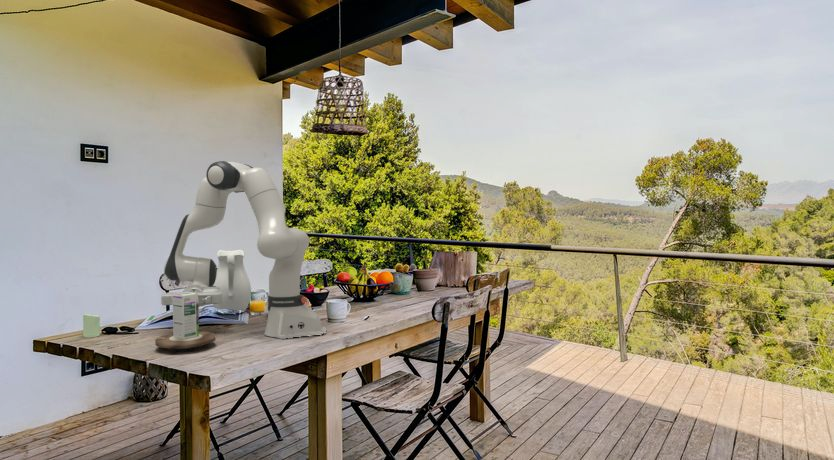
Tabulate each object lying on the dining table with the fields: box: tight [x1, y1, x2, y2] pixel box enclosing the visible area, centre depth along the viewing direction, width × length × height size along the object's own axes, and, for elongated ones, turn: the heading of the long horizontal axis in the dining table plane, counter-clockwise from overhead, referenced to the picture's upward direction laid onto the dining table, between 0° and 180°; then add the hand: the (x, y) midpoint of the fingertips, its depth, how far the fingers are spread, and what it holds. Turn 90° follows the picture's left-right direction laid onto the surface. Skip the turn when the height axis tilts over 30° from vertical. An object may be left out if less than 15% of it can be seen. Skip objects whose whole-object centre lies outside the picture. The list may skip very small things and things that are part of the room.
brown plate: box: [154, 330, 217, 349], centre depth 166 cm, size 18×18×1 cm
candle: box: [82, 313, 101, 339], centre depth 181 cm, size 5×5×8 cm
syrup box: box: [172, 292, 200, 340], centre depth 166 cm, size 6×6×14 cm
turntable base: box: [168, 345, 204, 352], centre depth 166 cm, size 10×10×2 cm
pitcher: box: [212, 249, 252, 312], centre depth 222 cm, size 24×17×28 cm
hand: (190, 301), depth 176 cm, fingers open, 8 cm apart
